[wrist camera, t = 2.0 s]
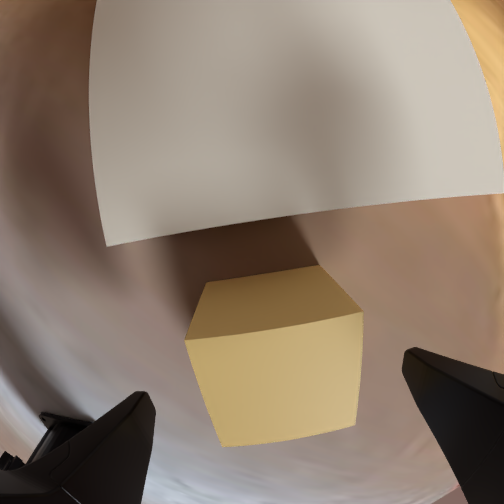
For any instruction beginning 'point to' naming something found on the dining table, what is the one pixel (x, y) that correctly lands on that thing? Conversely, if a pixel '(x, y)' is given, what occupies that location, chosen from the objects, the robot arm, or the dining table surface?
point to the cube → (277, 355)
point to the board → (281, 110)
